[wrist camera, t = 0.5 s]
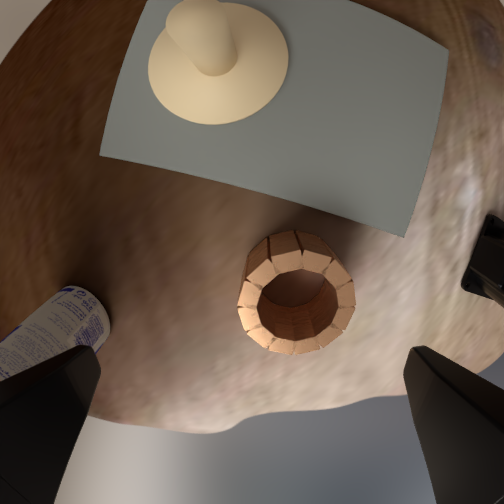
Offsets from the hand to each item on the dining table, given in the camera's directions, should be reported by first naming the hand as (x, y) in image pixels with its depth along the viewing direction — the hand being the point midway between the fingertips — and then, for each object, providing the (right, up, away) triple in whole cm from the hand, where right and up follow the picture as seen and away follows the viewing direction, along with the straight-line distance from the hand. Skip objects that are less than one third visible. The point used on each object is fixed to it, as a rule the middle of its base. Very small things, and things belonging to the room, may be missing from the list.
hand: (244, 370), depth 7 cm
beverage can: (-14, -2, +14) cm, 20 cm away
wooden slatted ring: (+3, +1, +12) cm, 13 cm away
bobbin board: (+2, +13, +8) cm, 16 cm away
